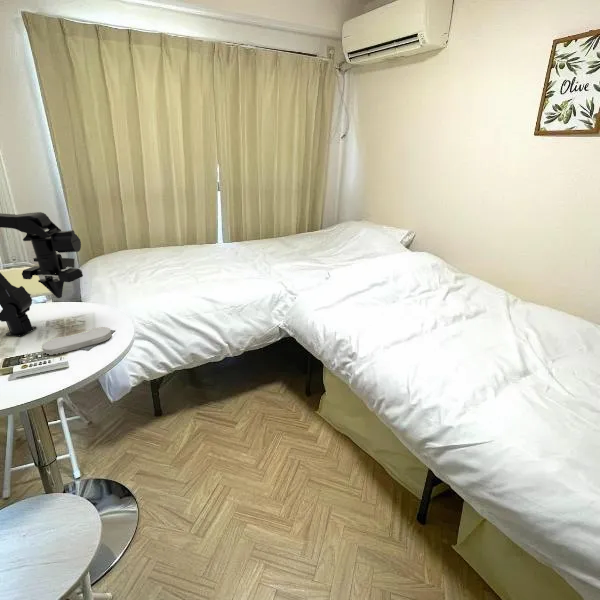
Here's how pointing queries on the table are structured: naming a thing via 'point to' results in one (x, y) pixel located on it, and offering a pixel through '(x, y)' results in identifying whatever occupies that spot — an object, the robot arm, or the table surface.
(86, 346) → the mat
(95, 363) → the table surface
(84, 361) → the table surface
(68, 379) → the table surface
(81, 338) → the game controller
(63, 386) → the table surface
